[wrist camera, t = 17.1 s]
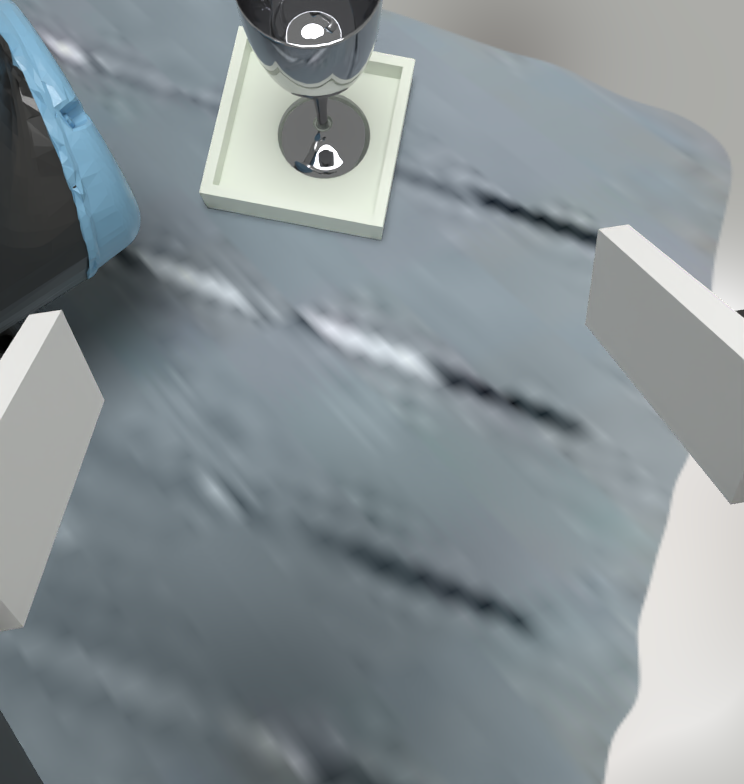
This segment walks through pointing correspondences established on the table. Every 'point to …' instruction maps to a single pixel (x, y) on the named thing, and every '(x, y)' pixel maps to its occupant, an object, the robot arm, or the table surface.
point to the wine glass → (316, 75)
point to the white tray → (276, 176)
